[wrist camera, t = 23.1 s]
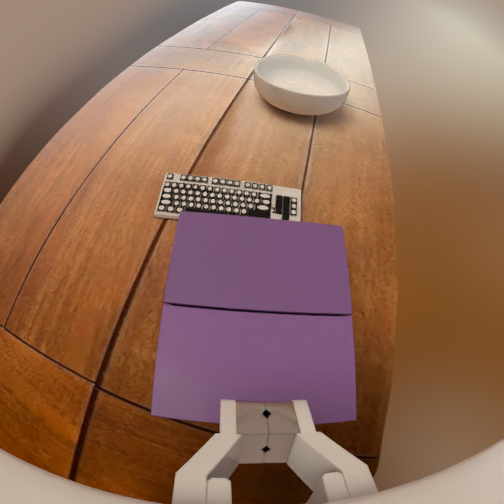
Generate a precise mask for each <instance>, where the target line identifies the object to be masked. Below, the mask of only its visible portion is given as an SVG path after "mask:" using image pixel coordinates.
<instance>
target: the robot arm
mask: <svg viewBox="0 0 504 504" xmlns="http://www.w3.org/2000/svg"><path fill="white" fill-rule="evenodd" d="M246 463H286V464H287V465H288V466H289V467H290V468H291V469H292V470H293V471H294V472H295V473H296V474H297V475H298V476H299V478H300V479H301V480H302V481H303V482H304V483H305V484H306V485H307V486H308V487H309V488H310V489H311V490H312V491H313V493H312V495H311V496H310V498H309V500H308V501H307V503H306V504H504V439H502V440H500V441H499V442H497V443H495V444H494V445H492V446H490V447H488V448H486V449H485V450H483V451H481V452H479V453H477V454H475V455H473V456H471V457H470V458H467V459H465V460H463V461H461V462H459V463H457V464H455V465H452V466H450V467H448V468H446V469H443V470H441V471H438V472H436V473H433V474H431V475H429V476H426V477H423V478H420V479H417V480H415V481H412V482H409V483H406V484H403V485H400V486H397V487H393V488H390V489H386V490H383V491H379V492H378V490H377V487H376V485H375V482H374V480H373V477H372V475H371V473H370V470H369V468H368V465H366V464H365V463H363V462H362V461H361V460H359V459H358V458H356V457H355V456H353V455H352V454H350V453H349V452H348V451H346V450H345V449H343V448H342V447H341V446H339V445H338V444H337V443H335V442H334V441H332V440H331V439H330V438H328V437H327V436H326V435H324V434H323V433H322V432H316V429H315V425H314V422H313V419H312V416H311V413H310V409H309V406H308V403H307V401H306V400H285V401H249V400H236V401H235V400H227V399H221V402H220V427H219V433H215V434H214V435H213V436H212V437H211V438H210V440H209V441H208V442H207V443H206V444H205V445H204V446H203V447H202V448H201V449H200V450H199V451H198V452H197V453H196V454H195V455H194V456H193V457H192V458H191V459H190V460H189V461H188V462H187V463H186V464H185V465H184V466H182V467H181V468H180V469H179V470H178V471H177V472H176V475H175V482H174V489H173V497H172V504H232V496H231V481H229V480H228V478H229V477H230V476H231V474H232V473H233V472H234V470H235V469H236V467H237V466H238V464H246ZM0 504H162V503H156V502H150V501H145V500H139V499H135V498H130V497H126V496H121V495H117V494H113V493H110V492H106V491H102V490H99V489H95V488H92V487H89V486H86V485H83V484H80V483H77V482H74V481H71V480H68V479H65V478H63V477H60V476H57V475H55V474H52V473H50V472H48V471H45V470H43V469H41V468H38V467H36V466H34V465H32V464H29V463H27V462H25V461H23V460H21V459H19V458H17V457H15V456H13V455H11V454H9V453H7V452H6V451H4V450H2V449H0Z"/></svg>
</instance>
